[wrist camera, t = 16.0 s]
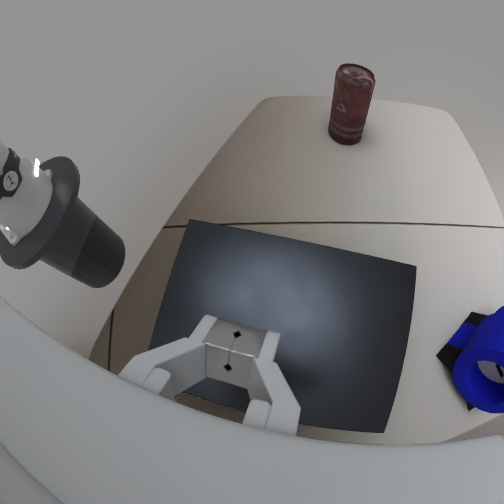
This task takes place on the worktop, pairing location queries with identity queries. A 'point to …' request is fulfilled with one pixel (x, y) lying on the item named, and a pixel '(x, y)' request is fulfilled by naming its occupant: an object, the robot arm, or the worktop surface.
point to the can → (350, 102)
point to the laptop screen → (298, 318)
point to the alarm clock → (478, 360)
